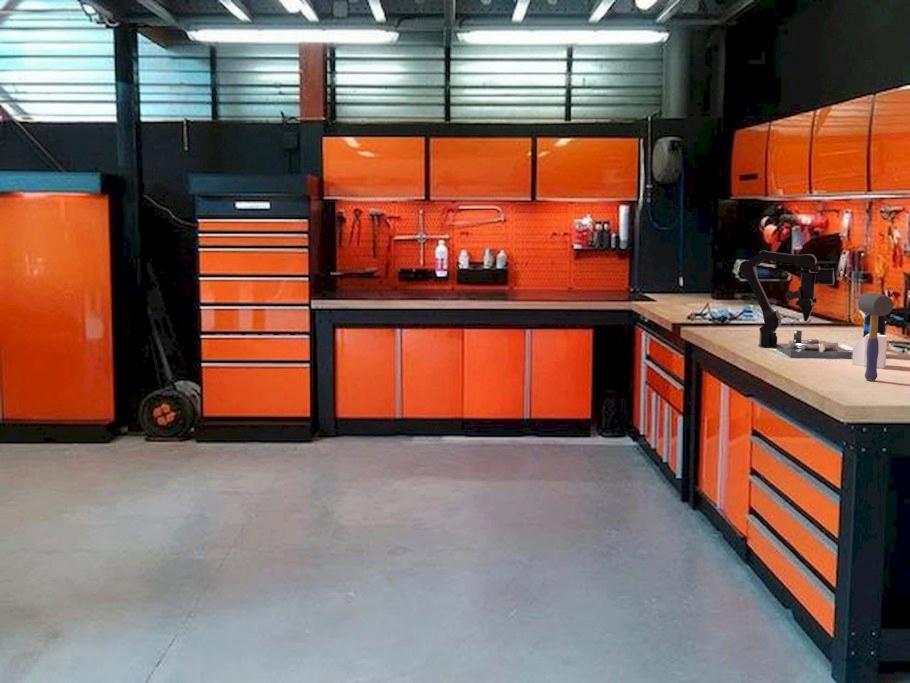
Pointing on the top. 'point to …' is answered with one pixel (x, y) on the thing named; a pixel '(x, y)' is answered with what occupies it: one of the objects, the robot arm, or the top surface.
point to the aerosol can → (880, 324)
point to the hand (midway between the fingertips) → (805, 321)
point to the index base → (813, 352)
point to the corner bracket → (861, 349)
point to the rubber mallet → (874, 327)
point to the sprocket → (810, 343)
